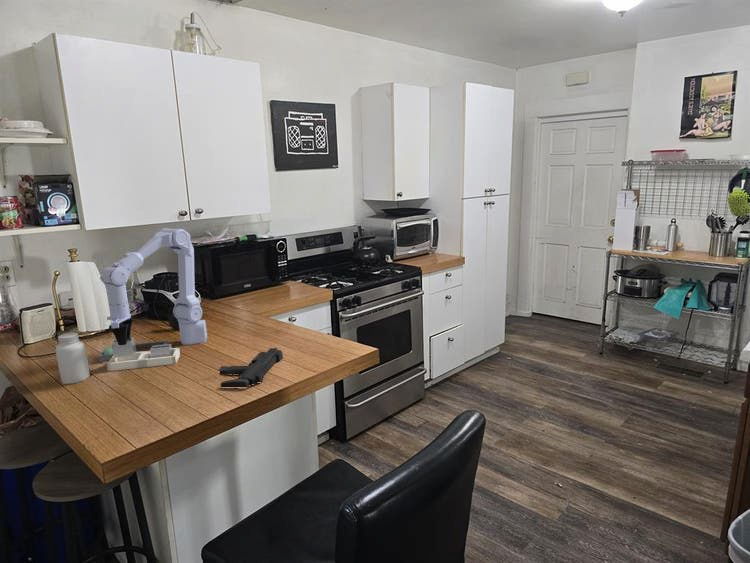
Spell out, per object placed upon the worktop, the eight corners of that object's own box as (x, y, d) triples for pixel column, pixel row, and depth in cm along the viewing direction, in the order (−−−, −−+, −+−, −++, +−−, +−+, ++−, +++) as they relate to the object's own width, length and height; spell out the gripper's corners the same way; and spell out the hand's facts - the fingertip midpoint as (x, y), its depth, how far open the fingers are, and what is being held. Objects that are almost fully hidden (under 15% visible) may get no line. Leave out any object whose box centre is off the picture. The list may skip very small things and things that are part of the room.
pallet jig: (180, 357, 172) (179, 347, 171) (176, 366, 164) (175, 356, 163) (115, 363, 168) (114, 354, 167) (108, 374, 159) (106, 364, 158)
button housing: (123, 356, 175) (122, 348, 174) (118, 362, 169) (117, 354, 169) (105, 357, 174) (103, 350, 173) (99, 364, 168) (98, 356, 167)
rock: (202, 326, 206) (200, 303, 204) (199, 329, 203) (197, 306, 200) (172, 327, 206) (169, 305, 204) (168, 330, 202) (165, 307, 200)
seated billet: (154, 359, 168) (152, 345, 167) (173, 357, 169) (171, 343, 168) (152, 363, 164) (149, 349, 163) (171, 361, 165) (169, 347, 164)
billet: (117, 353, 165) (114, 339, 164) (136, 351, 166) (133, 336, 165) (114, 357, 161) (111, 342, 160) (133, 355, 162) (130, 340, 161)
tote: (168, 346, 183) (167, 340, 182) (162, 358, 171) (161, 351, 171) (128, 351, 180) (127, 344, 179) (119, 363, 168) (118, 356, 168)
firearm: (235, 355, 176) (288, 353, 173) (192, 392, 147) (255, 390, 144) (233, 346, 176) (286, 344, 172) (191, 381, 147) (253, 380, 143)
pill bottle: (60, 386, 151) (51, 340, 147) (62, 377, 158) (54, 333, 154) (89, 381, 154) (81, 336, 151) (90, 372, 161) (83, 329, 158)
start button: (119, 354, 174) (117, 346, 173) (115, 358, 170) (114, 350, 169) (106, 355, 173) (105, 347, 172) (103, 359, 169) (102, 351, 168)
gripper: (111, 298, 166) (117, 336, 169) (98, 310, 152) (104, 351, 155) (133, 297, 167) (139, 334, 170) (122, 308, 153) (128, 348, 156)
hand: (124, 342), depth 163 cm, fingers closed on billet, 4 cm apart
